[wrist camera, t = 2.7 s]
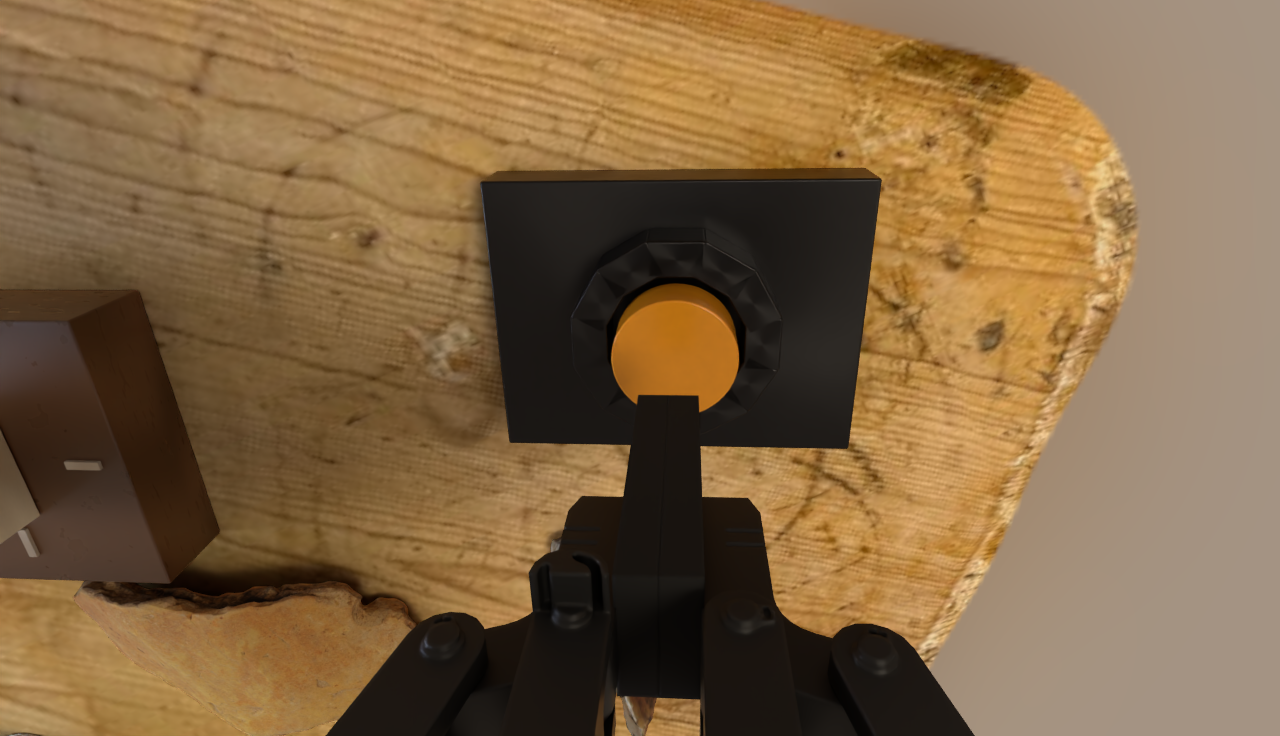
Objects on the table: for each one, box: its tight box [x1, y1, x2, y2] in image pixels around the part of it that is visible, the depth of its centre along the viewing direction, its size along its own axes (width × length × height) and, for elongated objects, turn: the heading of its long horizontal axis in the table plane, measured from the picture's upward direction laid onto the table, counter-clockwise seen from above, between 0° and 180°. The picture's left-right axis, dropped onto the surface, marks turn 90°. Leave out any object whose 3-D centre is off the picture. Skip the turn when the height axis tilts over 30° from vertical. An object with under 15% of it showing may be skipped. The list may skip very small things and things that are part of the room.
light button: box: [611, 283, 739, 412], centre depth 22 cm, size 4×4×2 cm
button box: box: [480, 168, 882, 449], centre depth 25 cm, size 10×13×4 cm
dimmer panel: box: [0, 290, 220, 584], centre depth 29 cm, size 12×11×4 cm
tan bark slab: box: [73, 581, 417, 736], centre depth 34 cm, size 17×4×10 cm
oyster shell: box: [550, 537, 657, 736], centre depth 32 cm, size 6×4×10 cm
